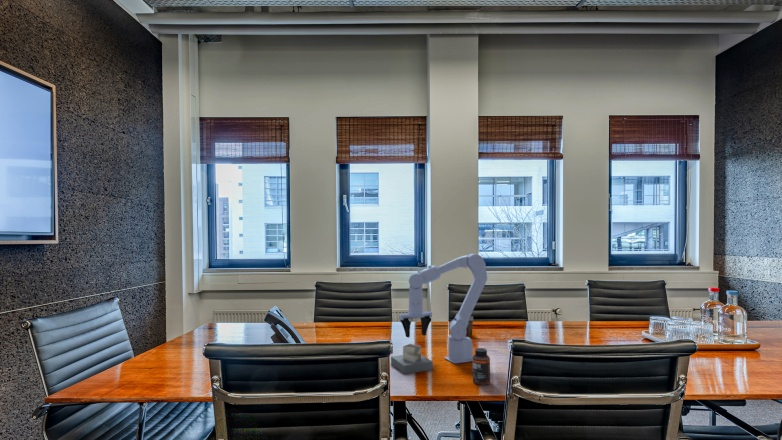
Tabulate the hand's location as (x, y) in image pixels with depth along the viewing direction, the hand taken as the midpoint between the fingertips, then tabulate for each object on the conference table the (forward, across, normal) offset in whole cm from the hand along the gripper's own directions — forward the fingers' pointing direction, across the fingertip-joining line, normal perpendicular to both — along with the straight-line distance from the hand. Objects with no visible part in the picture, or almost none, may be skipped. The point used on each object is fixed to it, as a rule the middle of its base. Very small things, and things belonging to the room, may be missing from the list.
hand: (415, 335), depth 166 cm
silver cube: (+6, -6, -8) cm, 12 cm away
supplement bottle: (+10, +8, -32) cm, 35 cm away
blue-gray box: (+9, -6, -8) cm, 14 cm away
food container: (+10, +42, +26) cm, 50 cm away
